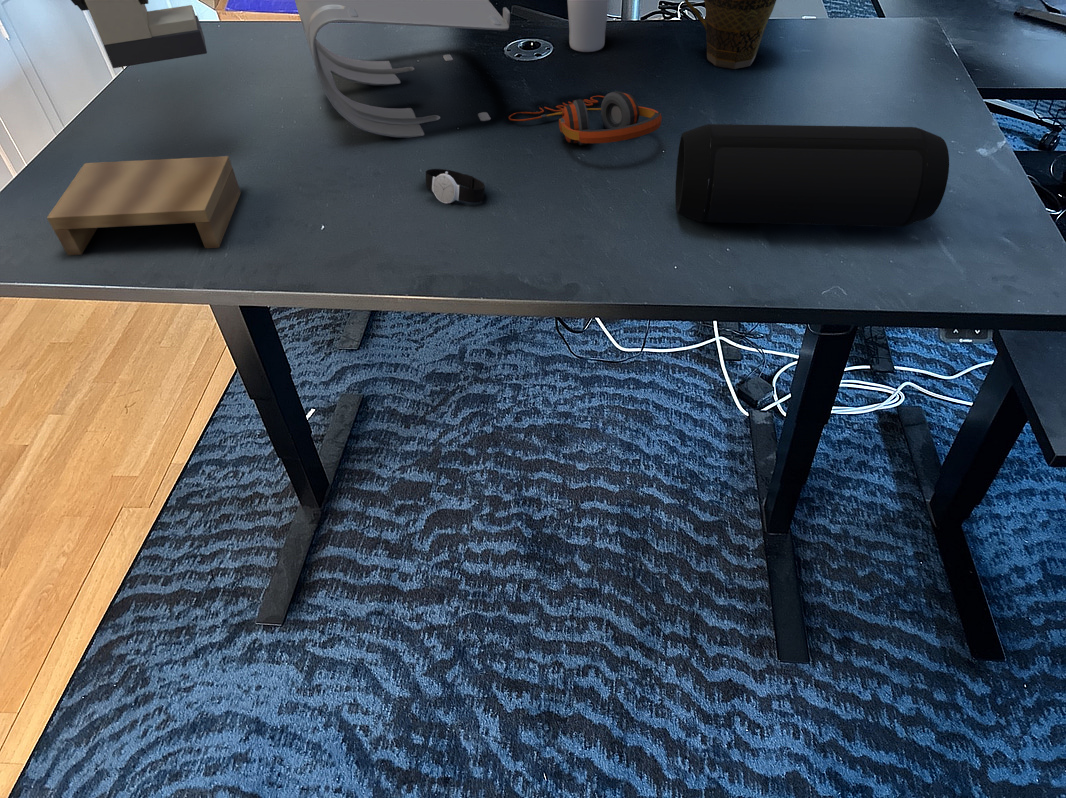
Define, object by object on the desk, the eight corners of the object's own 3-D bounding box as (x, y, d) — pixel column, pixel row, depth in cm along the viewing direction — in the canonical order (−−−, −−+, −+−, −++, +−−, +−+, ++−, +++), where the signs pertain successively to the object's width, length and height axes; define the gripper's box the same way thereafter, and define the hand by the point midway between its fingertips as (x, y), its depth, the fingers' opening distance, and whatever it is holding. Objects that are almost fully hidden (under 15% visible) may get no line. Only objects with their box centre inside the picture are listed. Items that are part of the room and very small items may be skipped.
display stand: (68, 258, 82) (46, 217, 78) (103, 202, 89) (84, 162, 86) (220, 250, 82) (204, 209, 78) (242, 195, 90) (228, 155, 86)
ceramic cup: (773, 51, 114) (787, -23, 106) (756, 79, 107) (770, 2, 100) (688, 38, 118) (696, -33, 110) (667, 64, 111) (674, -10, 104)
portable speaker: (903, 195, 86) (934, 109, 79) (927, 247, 79) (964, 158, 72) (672, 190, 88) (682, 106, 81) (676, 241, 81) (687, 153, 74)
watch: (417, 195, 89) (412, 167, 86) (442, 177, 91) (439, 149, 89) (470, 215, 85) (467, 186, 83) (495, 196, 88) (493, 167, 85)
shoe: (113, 68, 84) (69, -37, 77) (113, 51, 88) (71, -52, 80) (207, 53, 87) (173, -51, 79) (204, 37, 90) (171, -64, 82)
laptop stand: (311, 73, 112) (284, -44, 101) (468, 49, 117) (458, -66, 106) (336, 156, 95) (306, 26, 84) (518, 123, 100) (512, -4, 89)
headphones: (504, 135, 103) (568, 172, 87) (498, 94, 100) (564, 124, 84) (615, 110, 107) (695, 140, 92) (613, 69, 105) (695, 94, 89)
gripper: (-15, -180, 75) (21, -7, 76) (138, -191, 78) (172, -23, 78) (23, -128, 83) (56, 28, 83) (162, -140, 85) (193, 13, 86)
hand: (112, 3), depth 81 cm, fingers closed on shoe, 5 cm apart
